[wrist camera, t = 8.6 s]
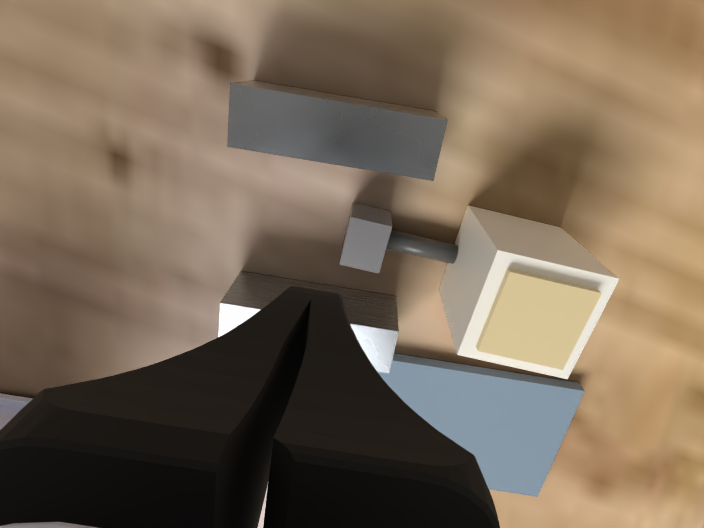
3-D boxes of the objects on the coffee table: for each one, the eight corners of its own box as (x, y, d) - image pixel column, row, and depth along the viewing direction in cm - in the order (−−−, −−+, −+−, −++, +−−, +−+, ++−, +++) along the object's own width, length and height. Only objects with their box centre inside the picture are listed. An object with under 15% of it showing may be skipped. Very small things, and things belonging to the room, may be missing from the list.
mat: (295, 450, 25) (293, 459, 24) (310, 340, 22) (308, 347, 21) (533, 487, 25) (537, 496, 24) (579, 382, 22) (584, 391, 21)
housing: (238, 309, 21) (218, 346, 19) (253, 80, 17) (230, 82, 15) (387, 333, 21) (388, 373, 19) (436, 111, 17) (447, 119, 15)
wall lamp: (337, 266, 20) (325, 330, 15) (358, 179, 19) (353, 219, 14) (524, 309, 21) (570, 385, 16) (560, 227, 19) (624, 282, 14)
